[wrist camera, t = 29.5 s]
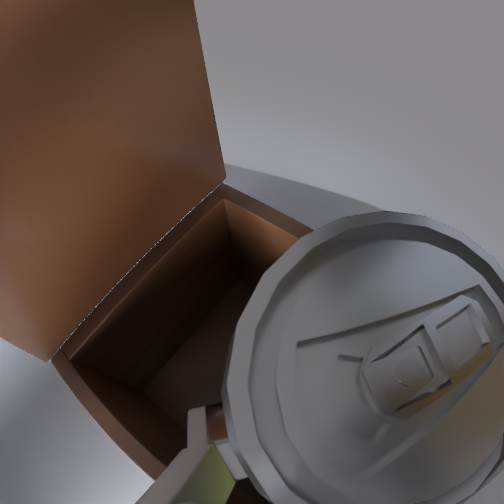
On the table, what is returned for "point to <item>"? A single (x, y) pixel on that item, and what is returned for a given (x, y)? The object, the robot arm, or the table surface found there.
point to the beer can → (369, 365)
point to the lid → (94, 151)
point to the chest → (175, 328)
